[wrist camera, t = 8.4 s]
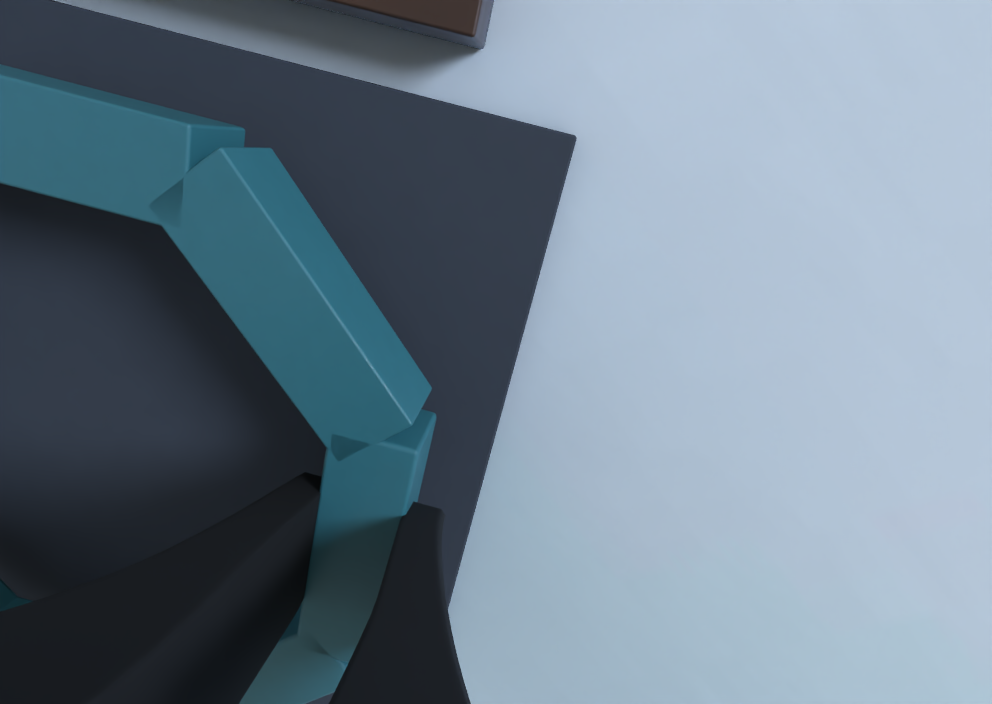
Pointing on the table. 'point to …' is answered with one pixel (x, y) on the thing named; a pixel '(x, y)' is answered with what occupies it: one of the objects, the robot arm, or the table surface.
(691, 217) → the table surface
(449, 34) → the peg stand
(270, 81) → the mat
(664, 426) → the table surface
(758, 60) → the table surface
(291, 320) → the ring
